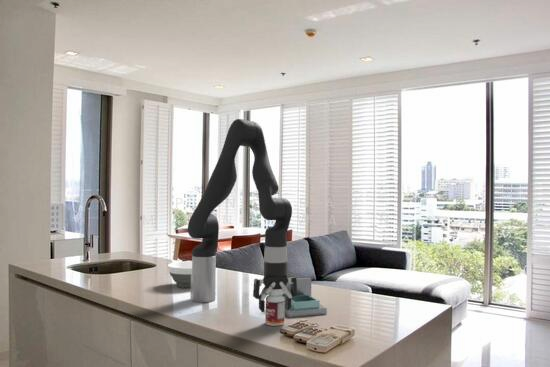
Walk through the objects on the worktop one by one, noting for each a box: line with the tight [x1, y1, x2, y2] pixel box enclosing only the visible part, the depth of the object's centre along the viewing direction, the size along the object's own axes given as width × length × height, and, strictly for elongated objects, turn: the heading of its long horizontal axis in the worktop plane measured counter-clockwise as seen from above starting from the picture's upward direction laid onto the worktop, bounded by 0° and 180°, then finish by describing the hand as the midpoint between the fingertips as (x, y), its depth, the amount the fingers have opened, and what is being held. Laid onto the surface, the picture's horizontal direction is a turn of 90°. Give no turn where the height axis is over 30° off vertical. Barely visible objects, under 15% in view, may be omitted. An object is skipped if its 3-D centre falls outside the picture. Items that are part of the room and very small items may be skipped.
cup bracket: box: [282, 277, 328, 318], centre depth 157 cm, size 14×14×10 cm
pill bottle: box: [264, 289, 286, 327], centre depth 141 cm, size 6×6×11 cm
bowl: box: [167, 260, 192, 289], centre depth 197 cm, size 20×20×10 cm
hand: (275, 310), depth 141 cm, fingers open, 8 cm apart
